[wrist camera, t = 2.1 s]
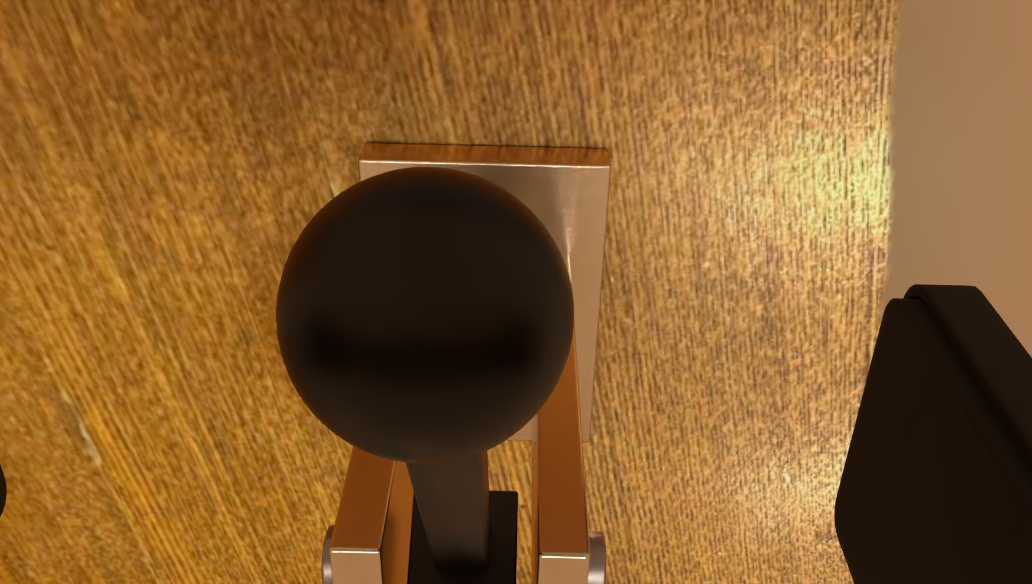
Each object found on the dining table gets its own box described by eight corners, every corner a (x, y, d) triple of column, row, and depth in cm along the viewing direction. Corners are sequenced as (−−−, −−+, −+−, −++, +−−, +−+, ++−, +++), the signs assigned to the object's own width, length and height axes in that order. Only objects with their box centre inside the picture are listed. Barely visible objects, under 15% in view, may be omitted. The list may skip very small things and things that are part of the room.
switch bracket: (363, 141, 28) (257, 435, 17) (608, 148, 28) (658, 444, 17) (382, 414, 33) (310, 771, 22) (587, 419, 33) (615, 778, 22)
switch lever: (269, 99, 10) (217, 392, 8) (582, 107, 10) (587, 401, 8) (403, 505, 23) (392, 646, 22) (537, 508, 23) (536, 650, 22)
